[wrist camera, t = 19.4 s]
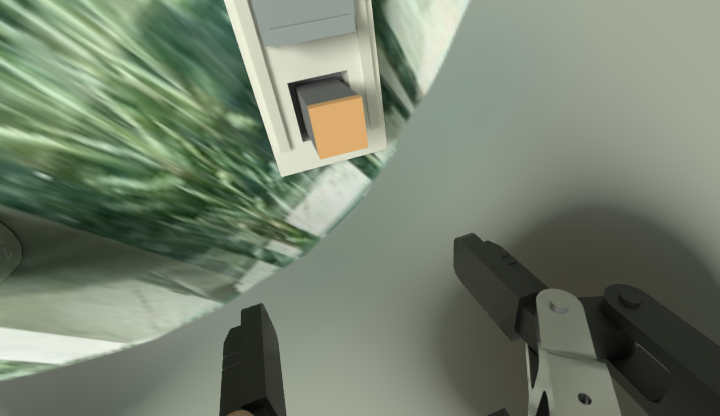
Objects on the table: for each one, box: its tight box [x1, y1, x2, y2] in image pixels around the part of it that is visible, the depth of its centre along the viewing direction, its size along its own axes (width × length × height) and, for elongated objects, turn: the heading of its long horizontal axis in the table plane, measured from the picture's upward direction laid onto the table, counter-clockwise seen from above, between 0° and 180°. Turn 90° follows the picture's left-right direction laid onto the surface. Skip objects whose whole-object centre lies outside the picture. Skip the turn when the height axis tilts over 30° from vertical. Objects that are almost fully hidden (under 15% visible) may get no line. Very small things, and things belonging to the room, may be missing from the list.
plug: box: [294, 77, 369, 160], centre depth 30 cm, size 4×4×10 cm
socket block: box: [224, 0, 387, 177], centre depth 31 cm, size 12×18×4 cm, turn 9°
